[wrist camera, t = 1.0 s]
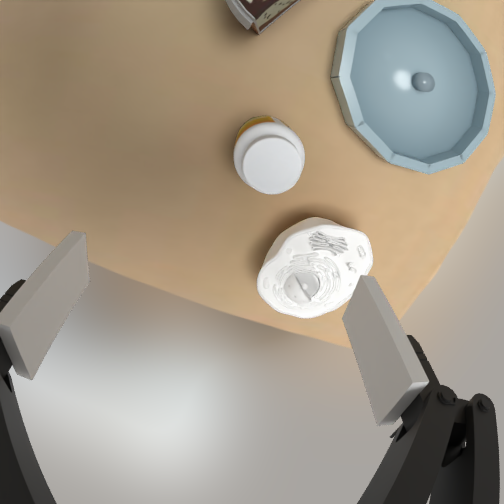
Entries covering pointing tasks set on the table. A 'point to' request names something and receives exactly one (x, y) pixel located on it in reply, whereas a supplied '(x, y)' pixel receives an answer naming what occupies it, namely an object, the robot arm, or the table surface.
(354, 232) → the cell model
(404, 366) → the robot arm
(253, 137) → the supplement bottle
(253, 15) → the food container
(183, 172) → the table surface
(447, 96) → the ring tray
